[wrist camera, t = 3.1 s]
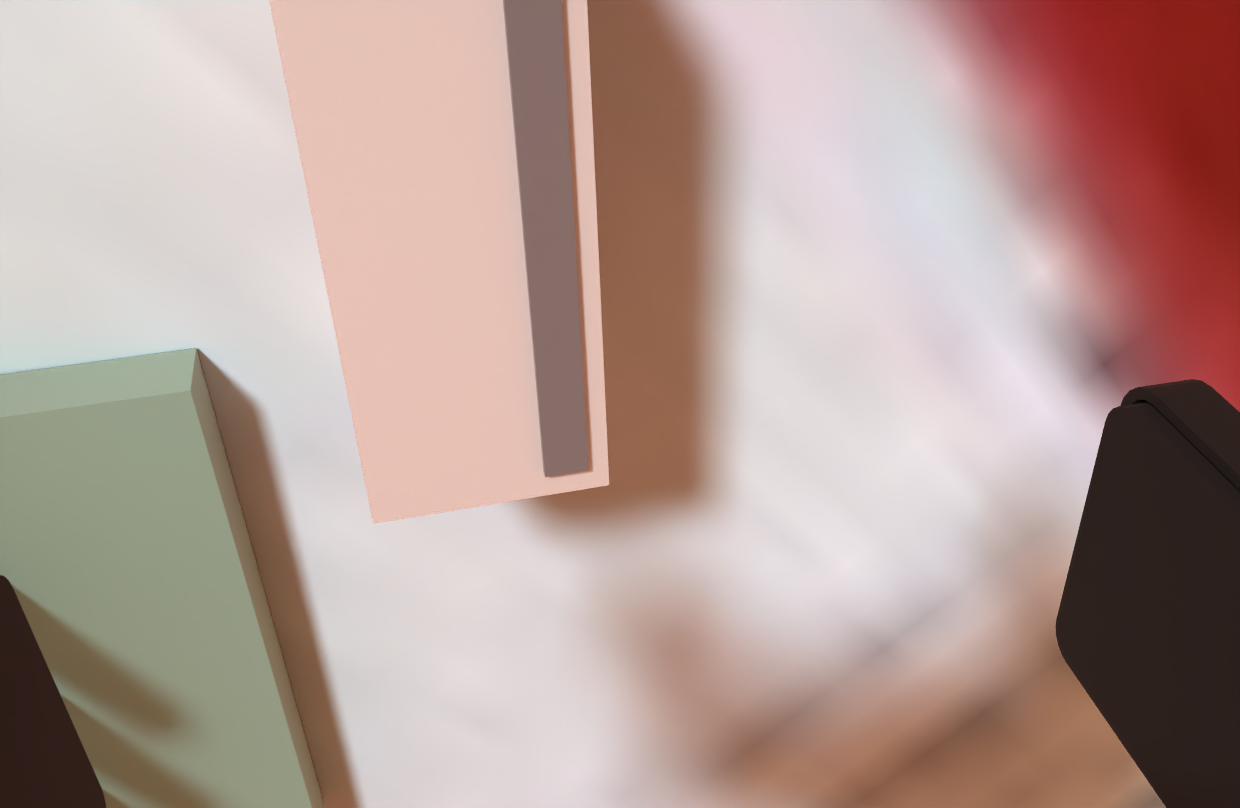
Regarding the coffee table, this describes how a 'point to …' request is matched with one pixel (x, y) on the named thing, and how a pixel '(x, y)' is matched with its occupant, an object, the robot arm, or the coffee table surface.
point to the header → (147, 586)
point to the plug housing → (456, 240)
